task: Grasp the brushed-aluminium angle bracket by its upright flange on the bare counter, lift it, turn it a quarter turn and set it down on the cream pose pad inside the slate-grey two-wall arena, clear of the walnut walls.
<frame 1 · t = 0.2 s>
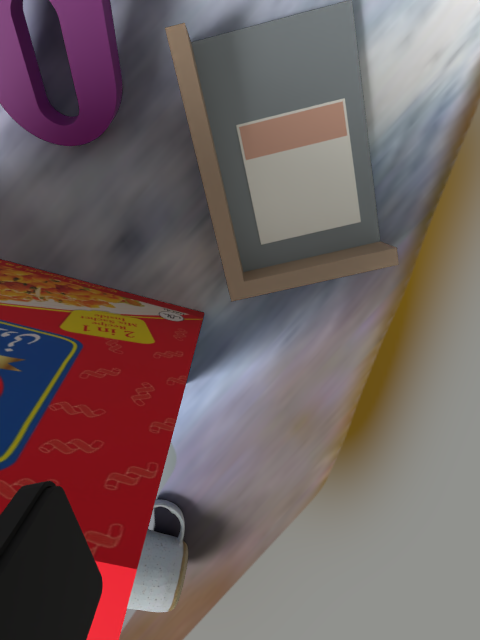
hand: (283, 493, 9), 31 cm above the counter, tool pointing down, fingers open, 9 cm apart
ceramic mug: (153, 530, 48), on the counter
mounting bracket: (66, 22, 32), on the counter
arena: (284, 160, 35), on the counter
pasta box: (56, 313, 40), on the counter
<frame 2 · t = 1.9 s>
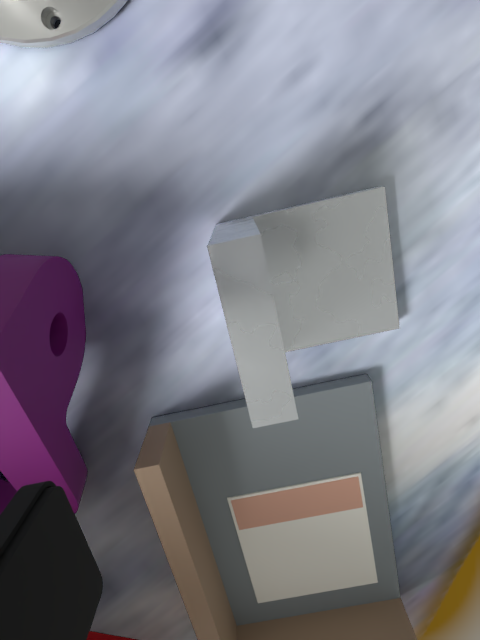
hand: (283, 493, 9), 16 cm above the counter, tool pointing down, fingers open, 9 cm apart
mounting bracket: (19, 386, 26), on the counter
arena: (286, 516, 29), on the counter
bracket: (249, 288, 24), on the counter
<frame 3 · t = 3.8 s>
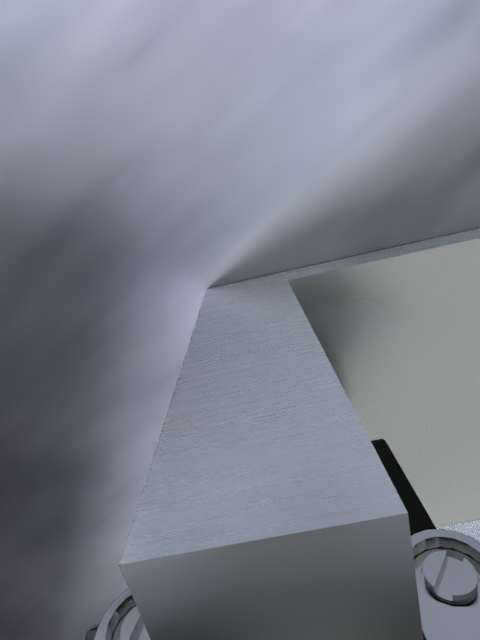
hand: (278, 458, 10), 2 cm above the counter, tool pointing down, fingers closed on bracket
bracket: (275, 414, 12), on the counter, touching gripper
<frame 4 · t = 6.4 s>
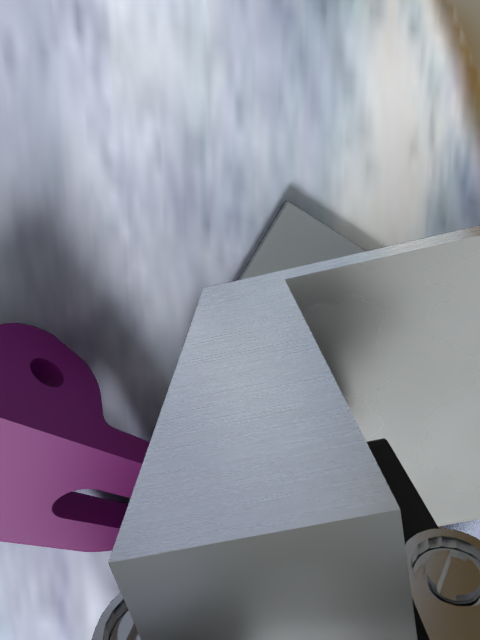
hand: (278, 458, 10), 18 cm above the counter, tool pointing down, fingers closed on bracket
mounting bracket: (87, 433, 30), on the counter
arena: (350, 363, 29), on the counter
bracket: (272, 414, 12), point 16 cm above the counter, touching gripper
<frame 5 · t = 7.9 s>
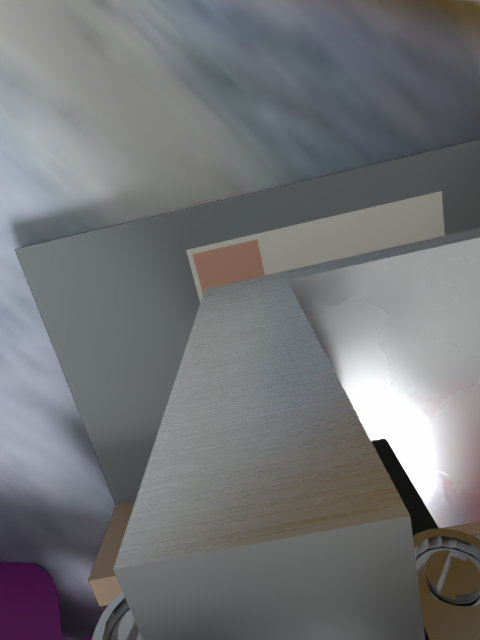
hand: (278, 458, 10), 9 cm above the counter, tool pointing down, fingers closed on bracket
mounting bracket: (112, 619, 24), on the counter
arena: (295, 348, 18), on the counter
bracket: (274, 415, 11), point 7 cm above the counter, touching gripper
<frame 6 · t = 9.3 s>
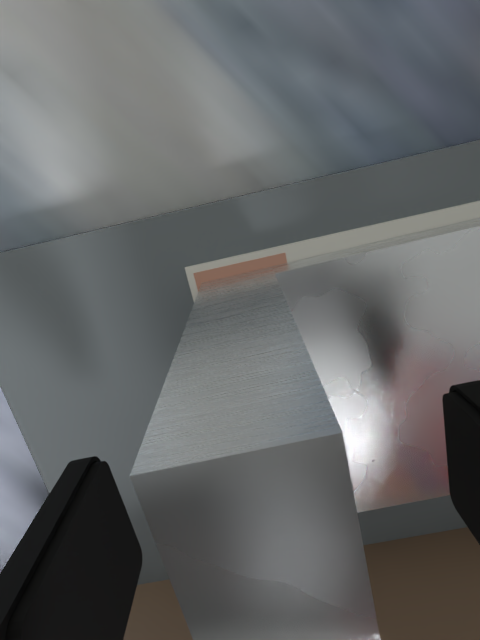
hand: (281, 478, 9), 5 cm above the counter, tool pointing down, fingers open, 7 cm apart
arena: (330, 395, 14), on the counter
bracket: (266, 398, 13), point 1 cm above the counter, touching arena
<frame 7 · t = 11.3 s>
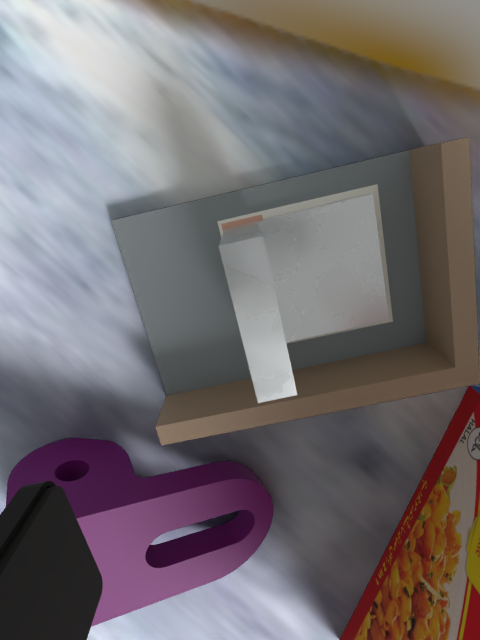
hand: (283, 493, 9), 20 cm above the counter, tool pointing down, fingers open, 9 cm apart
mounting bracket: (159, 489, 34), on the counter
arena: (286, 288, 28), on the counter
bracket: (254, 285, 27), point 1 cm above the counter, touching arena
pasta box: (438, 536, 35), on the counter
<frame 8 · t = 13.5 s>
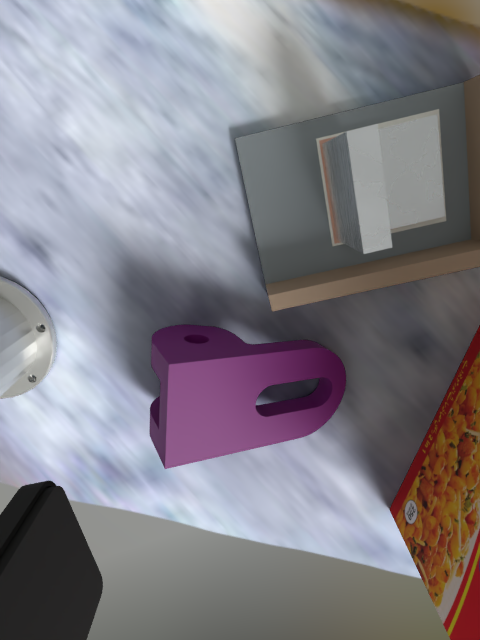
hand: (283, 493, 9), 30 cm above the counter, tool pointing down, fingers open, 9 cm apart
mounting bracket: (250, 371, 42), on the counter
arena: (363, 196, 36), on the counter
bracket: (341, 190, 35), point 1 cm above the counter, touching arena
pasta box: (474, 413, 43), on the counter
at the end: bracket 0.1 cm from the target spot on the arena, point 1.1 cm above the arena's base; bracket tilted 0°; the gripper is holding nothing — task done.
